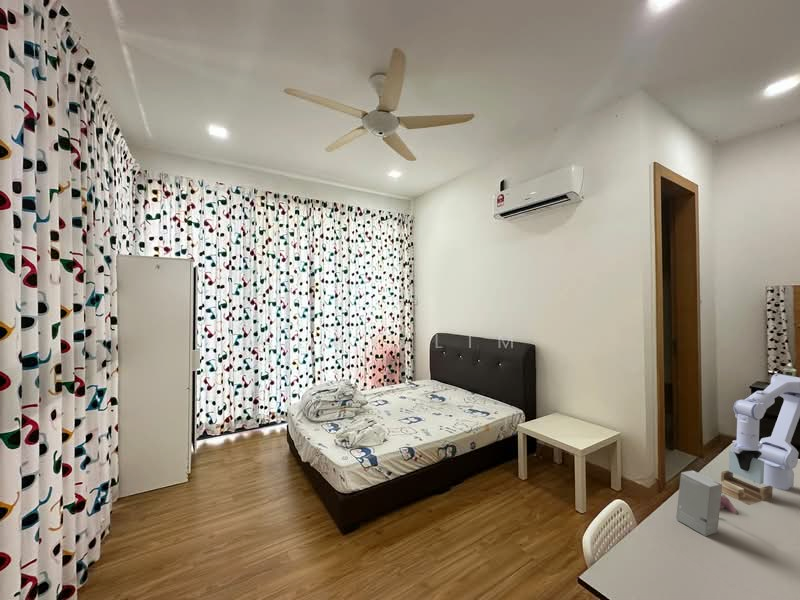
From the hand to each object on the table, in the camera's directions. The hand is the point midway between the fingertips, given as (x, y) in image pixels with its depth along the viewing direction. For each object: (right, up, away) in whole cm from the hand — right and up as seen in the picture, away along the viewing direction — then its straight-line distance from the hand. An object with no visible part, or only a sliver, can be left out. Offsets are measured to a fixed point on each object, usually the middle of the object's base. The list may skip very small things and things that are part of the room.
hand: (746, 469), depth 124 cm
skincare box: (-35, -9, -19) cm, 41 cm away
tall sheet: (0, -3, 0) cm, 3 cm away
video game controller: (-22, -9, -11) cm, 26 cm away
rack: (-4, -9, -1) cm, 10 cm away
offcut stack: (-8, -8, -3) cm, 12 cm away
